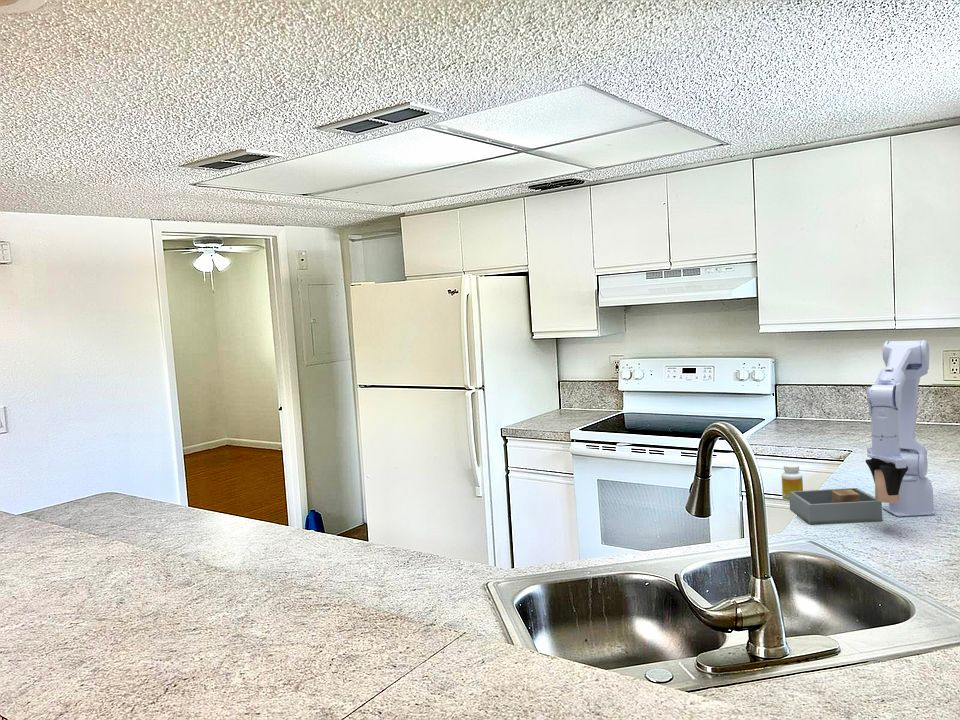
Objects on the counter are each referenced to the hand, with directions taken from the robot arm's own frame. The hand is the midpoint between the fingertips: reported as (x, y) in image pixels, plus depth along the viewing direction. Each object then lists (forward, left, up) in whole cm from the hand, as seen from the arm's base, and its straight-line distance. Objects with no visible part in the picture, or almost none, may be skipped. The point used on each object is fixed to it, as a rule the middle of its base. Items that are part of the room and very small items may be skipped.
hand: (887, 491), depth 178 cm
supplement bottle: (+11, -31, -10) cm, 34 cm away
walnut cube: (+4, -14, -9) cm, 17 cm away
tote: (+7, -14, -9) cm, 18 cm away
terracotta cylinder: (0, 0, -2) cm, 2 cm away
